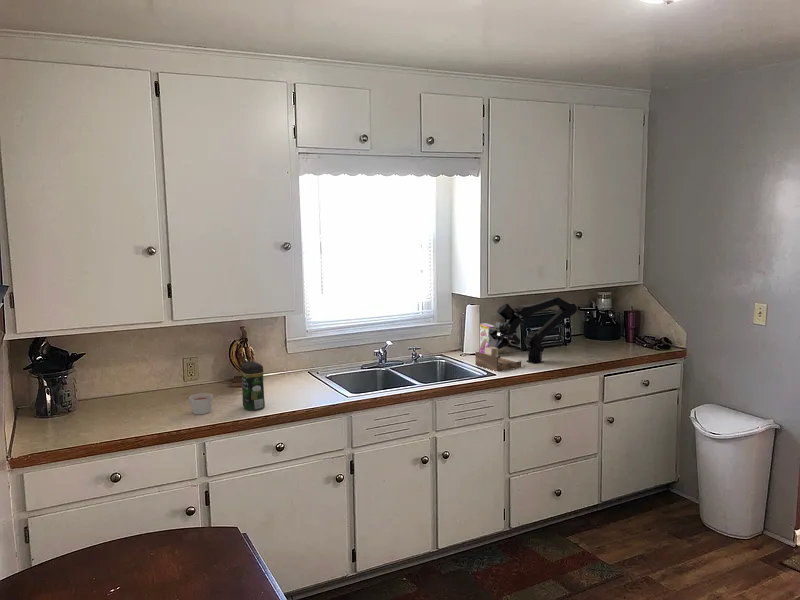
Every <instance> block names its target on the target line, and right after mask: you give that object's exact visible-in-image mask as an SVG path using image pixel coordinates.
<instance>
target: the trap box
mask: <svg viewBox="0 0 800 600" xmlns="http://www.w3.org/2000/svg"><path fill="white" fill-rule="evenodd" d="M475 365H477V366H476V367H479V366H480V367H479V368H482V367H483V368H482V369H486V368H487V370H489V369H490V370H489V371H493V370H494V372H496V371H498V372H503V371H502V370H504V371H508V370H507V369H509V370H514V369H518V368H519V367H520V368H522V360H520V361H514V360H510V359H506V358H502V357H501V355H498V357H495V356H491V355H487V354H483V353H480V352H479V351H475ZM513 368H514V369H513Z"/></svg>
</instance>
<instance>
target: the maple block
mask: <svg viewBox="0 0 800 600" xmlns="http://www.w3.org/2000/svg"><path fill="white" fill-rule="evenodd" d="M485 354H487V355H491V356H495V357H498V356H499V350H498V348H495V347H486V348H485Z"/></svg>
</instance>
